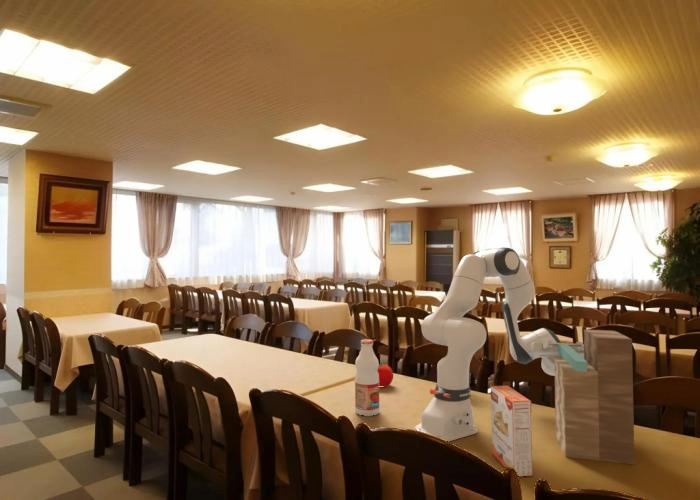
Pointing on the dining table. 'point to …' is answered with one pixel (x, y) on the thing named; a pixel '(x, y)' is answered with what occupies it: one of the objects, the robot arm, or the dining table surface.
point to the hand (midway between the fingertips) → (564, 343)
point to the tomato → (385, 375)
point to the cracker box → (512, 429)
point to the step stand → (597, 400)
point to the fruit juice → (367, 381)
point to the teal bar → (572, 358)
